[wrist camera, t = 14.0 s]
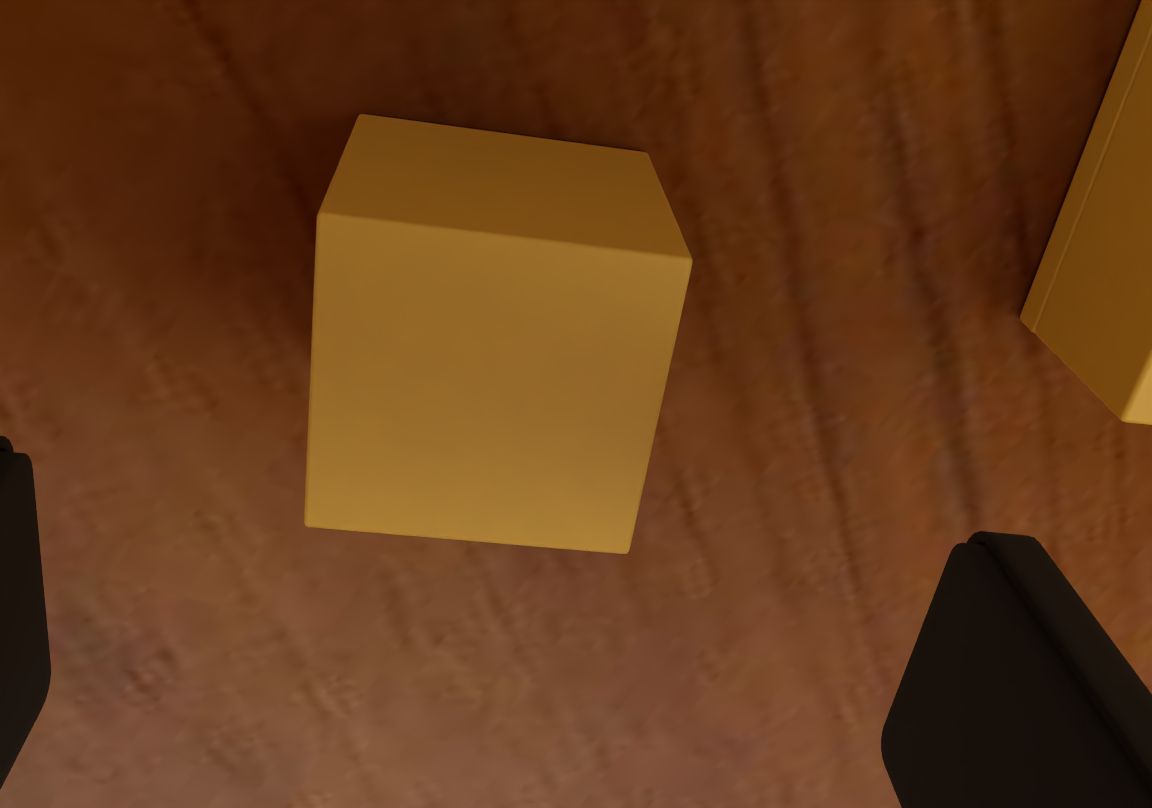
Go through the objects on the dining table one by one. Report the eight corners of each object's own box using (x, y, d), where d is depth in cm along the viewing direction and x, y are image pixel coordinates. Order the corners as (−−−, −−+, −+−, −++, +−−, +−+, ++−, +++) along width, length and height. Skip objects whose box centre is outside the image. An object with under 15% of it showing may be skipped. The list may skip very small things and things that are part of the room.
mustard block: (342, 373, 19) (302, 528, 15) (358, 112, 17) (316, 212, 13) (601, 400, 19) (629, 556, 15) (648, 151, 17) (695, 259, 13)
